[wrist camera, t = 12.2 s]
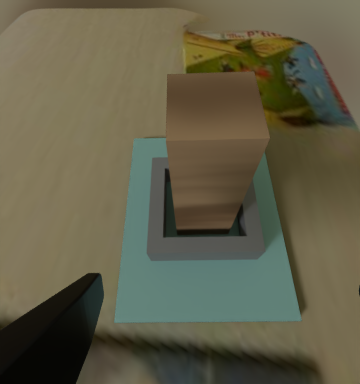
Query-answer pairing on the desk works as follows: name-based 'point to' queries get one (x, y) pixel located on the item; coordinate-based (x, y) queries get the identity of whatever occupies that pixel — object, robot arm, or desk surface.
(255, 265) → the holder
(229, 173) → the peg
